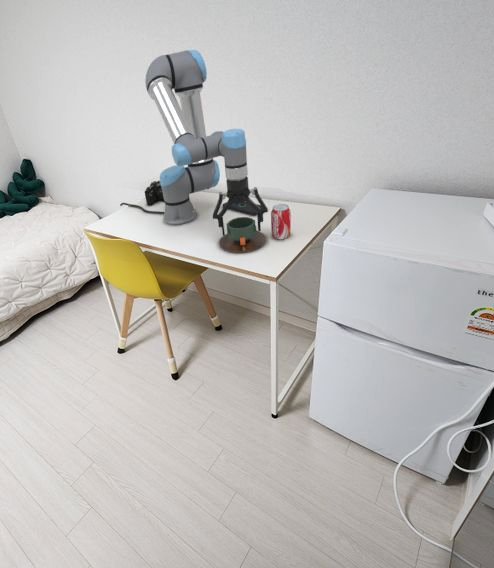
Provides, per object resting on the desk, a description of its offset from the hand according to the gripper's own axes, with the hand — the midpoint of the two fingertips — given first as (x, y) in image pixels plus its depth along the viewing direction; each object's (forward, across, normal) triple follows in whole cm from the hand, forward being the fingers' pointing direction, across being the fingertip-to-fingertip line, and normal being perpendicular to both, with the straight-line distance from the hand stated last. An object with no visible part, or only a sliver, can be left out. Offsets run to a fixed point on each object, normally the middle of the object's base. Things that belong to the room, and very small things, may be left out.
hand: (241, 232), depth 134 cm
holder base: (+4, 0, 0) cm, 4 cm away
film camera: (+5, +40, -59) cm, 71 cm away
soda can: (+4, -15, 0) cm, 16 cm away
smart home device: (+5, -3, -32) cm, 33 cm away
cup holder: (+1, 0, +2) cm, 2 cm away
